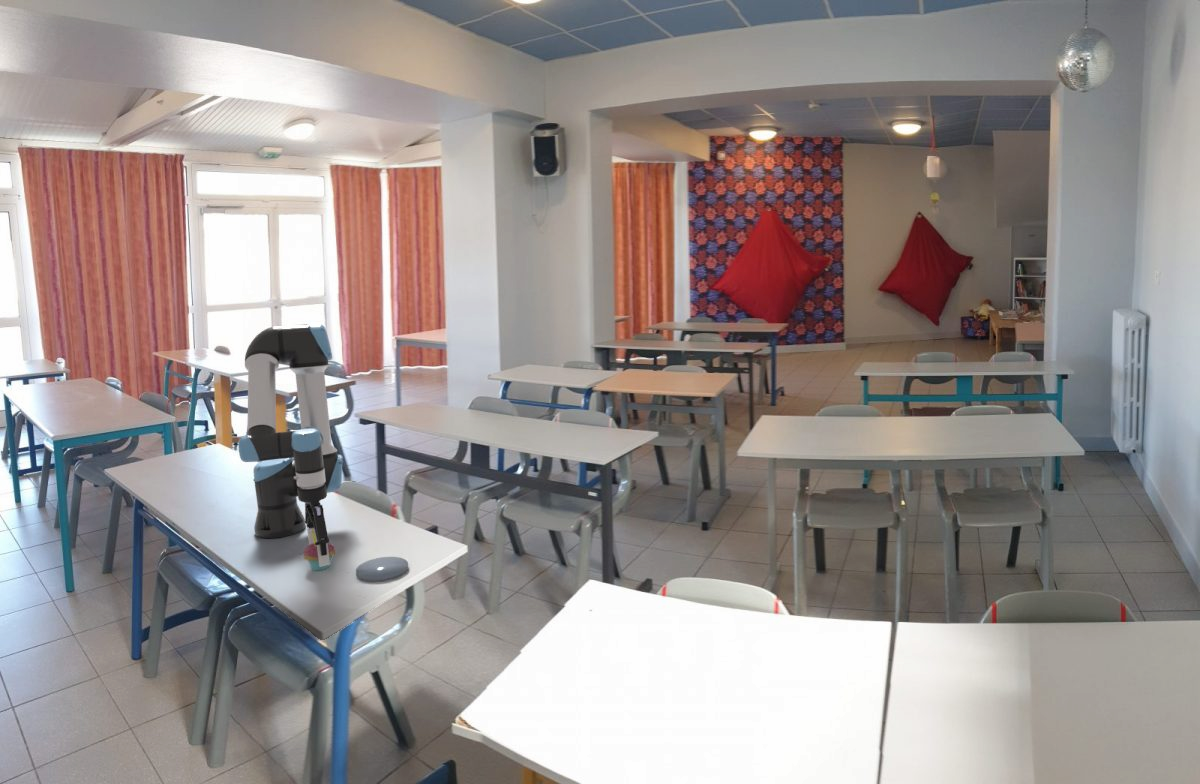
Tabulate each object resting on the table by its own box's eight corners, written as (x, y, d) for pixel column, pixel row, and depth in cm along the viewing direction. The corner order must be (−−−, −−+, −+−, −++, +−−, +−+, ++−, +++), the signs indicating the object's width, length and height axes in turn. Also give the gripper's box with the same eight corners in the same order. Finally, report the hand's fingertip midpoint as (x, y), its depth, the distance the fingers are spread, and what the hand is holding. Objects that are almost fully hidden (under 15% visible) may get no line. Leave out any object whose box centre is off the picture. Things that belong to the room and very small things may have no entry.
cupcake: (326, 574, 220) (321, 533, 218) (298, 572, 222) (293, 531, 220) (342, 561, 228) (338, 521, 226) (315, 560, 230) (310, 520, 228)
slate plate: (346, 579, 216) (345, 575, 216) (373, 559, 229) (372, 555, 229) (392, 583, 212) (392, 579, 212) (417, 562, 226) (417, 558, 225)
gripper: (289, 476, 229) (297, 546, 233) (305, 499, 208) (314, 575, 212) (316, 471, 233) (324, 540, 237) (335, 494, 212) (343, 569, 216)
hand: (319, 557), depth 225 cm, fingers open, 13 cm apart
